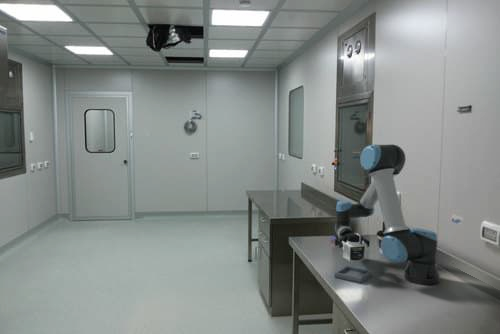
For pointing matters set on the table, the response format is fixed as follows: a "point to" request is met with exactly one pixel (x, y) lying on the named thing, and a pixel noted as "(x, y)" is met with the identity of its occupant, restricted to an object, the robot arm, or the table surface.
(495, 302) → the table surface
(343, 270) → the tray
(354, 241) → the medicine bottle
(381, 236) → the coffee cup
